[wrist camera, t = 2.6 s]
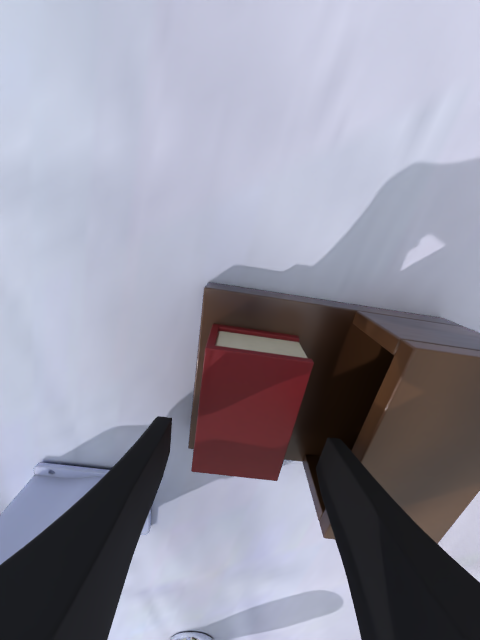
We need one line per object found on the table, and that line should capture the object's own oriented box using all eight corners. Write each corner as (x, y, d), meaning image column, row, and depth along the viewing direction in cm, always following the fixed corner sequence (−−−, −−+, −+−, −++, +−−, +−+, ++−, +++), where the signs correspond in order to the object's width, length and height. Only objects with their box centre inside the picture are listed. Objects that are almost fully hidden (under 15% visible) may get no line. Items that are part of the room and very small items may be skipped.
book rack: (192, 431, 18) (169, 523, 12) (208, 281, 13) (184, 314, 8) (374, 453, 18) (434, 549, 13) (443, 317, 14) (576, 371, 9)
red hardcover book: (200, 429, 15) (191, 471, 13) (212, 323, 13) (205, 347, 10) (270, 437, 16) (277, 481, 13) (298, 335, 13) (314, 362, 10)
